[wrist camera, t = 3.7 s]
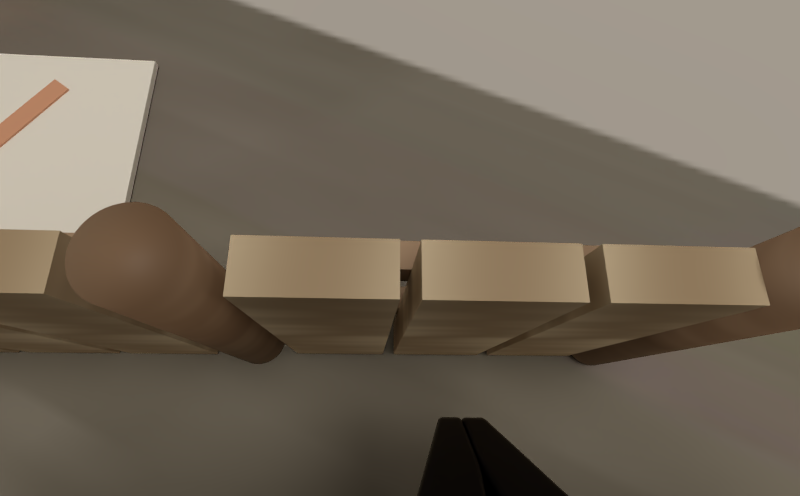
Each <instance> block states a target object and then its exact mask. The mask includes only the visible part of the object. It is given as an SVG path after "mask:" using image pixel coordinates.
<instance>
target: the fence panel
mask: <svg viewBox="0 0 800 496" xmlns="http://www.w3.org/2000/svg"><path fill="white" fill-rule="evenodd" d="M400 281H408V282H407V285H406V287H400ZM223 297H224V298H225V299H227V300H228V301H229V302H231V303H232V304H233V305H235V306H236V307H237V308H239V309H240V310H241V311H243V312H244V313H245V314H247V315H248V316H249V317H251V318H252V319H253V320H254V321H256V322H257V323H258V324H260V325H261V326H262V327H264V328H265V329H266V330H268V331H269V332H270V333H272V334H273V335H274V336H276V337H277V338H278V339H279V340H281V341H282V342H283V343H285V344H286V345H287V346H289V347H290V348H291V349H293V350H294V351H295V352H297V353H310V354H383V352H384V348H385V345H386V342H387V339H388V336H389V333H390V330H391V326H392V323H393V320H394V317H395V314H397V315H396V318H395V321H394V354H424V355H477V354H479V353H482V352H484V351H486V350H487V355H538V356H568V355H572V356H573V357H574V358H575V359H577V360H578V361H579V362H581V363H583V364H586V365H599V364H604V363H610V362H615V361H621V360H627V359H632V358H638V357H644V356H649V355H655V354H661V353H666V352H672V351H678V350H683V349H689V348H695V347H700V346H706V345H712V344H717V343H723V342H729V341H734V340H740V339H746V338H751V337H757V336H763V335H768V334H774V333H780V332H785V331H791V330H797V329H800V227H798V228H796V229H794V230H791V231H789V232H786V233H784V234H781V235H779V236H777V237H774V238H772V239H769V240H767V241H764V242H762V243H760V244H757V245H755V246H752V247H750V248H737V247H697V246H657V245H617V244H602V245H601V246H588V245H582V244H577V243H537V242H497V241H457V240H421V241H400V239H377V238H337V237H297V236H257V235H231V237H230V245H229V253H228V260H227V268H226V276H225V284H224V291H223Z"/></svg>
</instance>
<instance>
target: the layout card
mask: <svg viewBox="0 0 800 496" xmlns="http://www.w3.org/2000/svg"><path fill="white" fill-rule="evenodd" d="M157 71H158V65H157V64H156V62H155V61H141V60H120V59H99V58H79V57H58V56H37V55H17V54H0V229H16V230H56V231H61V232H63V233H75V232H76V230H77V229H78V228H79V227H80V226H81V225H82V224H83V223H84V222H85V221H86V220H87V219H88V218H89V217H91V216H92V215H93V214H95V213H97V212H98V211H100V210H102V209H104V208H106V207H109V206H112V205H115V204H119V203H126V202H130V200H131V195H132V190H133V185H134V181H135V176H136V171H137V166H138V161H139V157H140V152H141V147H142V142H143V138H144V133H145V128H146V123H147V118H148V114H149V109H150V104H151V99H152V94H153V90H154V85H155V80H156V75H157Z"/></svg>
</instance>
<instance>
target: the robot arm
mask: <svg viewBox="0 0 800 496" xmlns="http://www.w3.org/2000/svg"><path fill="white" fill-rule="evenodd" d="M417 496H568V495H567V494H566V493H565V492H564V491H562V490H561V489H560V488H559V487H558V486H557V485H556V484H555V483H554V482H553V481H552V480H551V479H549V478H548V477H547V476H546V475H545V474H544V473H543V472H542V471H541V470H540V469H539V468H537V467H536V466H535V465H534V464H533V463H532V462H531V461H530V460H529V459H528V458H527V457H526V456H524V455H523V454H522V453H521V452H520V451H519V450H518V449H517V448H516V447H515V446H514V445H513V444H511V443H510V442H509V441H508V440H507V439H506V438H505V437H504V436H503V435H502V434H501V433H499V432H498V431H497V430H496V429H495V428H494V427H493V426H492V425H491V424H490V423H489V422H488V421H486V420H485V419H483V418H463V419H462V420H461V419H460V418H457V417H442V418H439V420H438V423H437V426H436V430H435V433H434V437H433V441H432V444H431V448H430V451H429V455H428V458H427V462H426V466H425V469H424V473H423V476H422V480H421V483H420V487H419V491H418V494H417Z"/></svg>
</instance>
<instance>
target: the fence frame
mask: <svg viewBox="0 0 800 496" xmlns="http://www.w3.org/2000/svg"><path fill="white" fill-rule="evenodd" d="M225 276H226V270H225V269H224V268H223V267H222V266H221V265H220V264H219V263H218V262H217V261H216V260H215V259H214V258H213V257H212V256H211V255H210V254H209V253H208V252H206V251H205V250H204V249H203V248H202V247H201V246H200V245H199V244H198V243H197V242H196V241H195V240H194V239H193V238H192V237H191V236H190V235H189V234H188V233H187V232H186V231H185V230H184V229H183V228H182V227H181V226H179V225H178V224H177V223H176V222H175V221H174V220H173V219H172V218H171V217H170V216H169V215H168V214H167V213H166V212H164V211H163V210H161V209H159V208H157V207H155V206H153V205H150V204H146V203H140V202H126V203H119V204H115V205H112V206H109V207H106V208H104V209H102V210H100V211H98V212H97V213H95V214H93V215H92V216H91V217H89V218H88V219H87V220H86V221H85V222H84V223H83V224H82V225H81V226H80V227H79V228H78V229H77V230H76V232H75V233H63V232H61V231H56V230H16V229H0V352H19V351H25V352H44V353H120V351H123V352H128V353H160V354H218V351H221V352H223V353H226V354H229V355H231V356H234V357H237V358H239V359H242V360H245V361H248V362H250V363H254V364H262V363H266V362H269V361H271V360H273V359H274V358H275V357H277V355H278V354H279V353H280V352H281V350H282V349H283V346H284V343H283V342H282V341H281V340H279V339H278V338H277V337H276V336H274V335H273V334H272V333H270V332H269V331H268V330H266V329H265V328H264V327H262V326H261V325H260V324H258V323H257V322H256V321H254V320H253V319H252V318H251V317H249V316H248V315H247V314H245V313H244V312H243V311H241V310H240V309H239V308H237V307H236V306H235V305H233V304H232V303H231V302H229V301H228V300H227V299H225V298H224V297H223V291H224V284H225Z"/></svg>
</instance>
